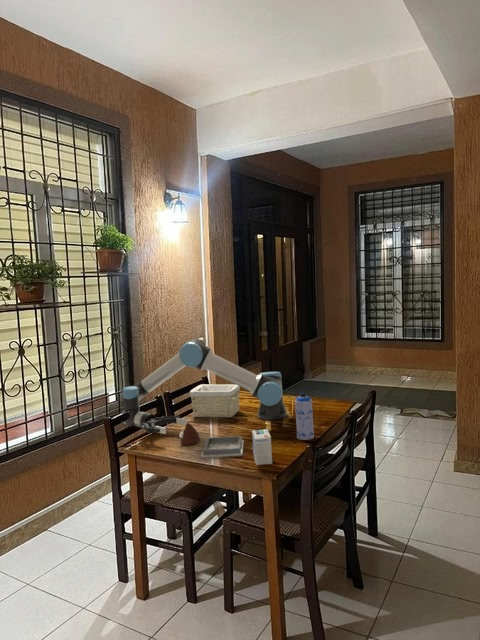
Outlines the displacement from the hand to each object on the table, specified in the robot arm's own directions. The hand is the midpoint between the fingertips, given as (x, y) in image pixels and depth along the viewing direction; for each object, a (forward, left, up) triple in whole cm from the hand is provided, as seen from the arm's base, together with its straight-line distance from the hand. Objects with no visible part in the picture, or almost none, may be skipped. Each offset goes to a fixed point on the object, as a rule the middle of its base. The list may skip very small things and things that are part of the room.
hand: (176, 426), depth 225 cm
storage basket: (-15, -39, -7) cm, 42 cm away
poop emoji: (-7, +4, -7) cm, 10 cm away
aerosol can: (-59, +5, -7) cm, 59 cm away
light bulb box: (-40, +29, -7) cm, 49 cm away
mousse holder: (-23, +16, -6) cm, 28 cm away
